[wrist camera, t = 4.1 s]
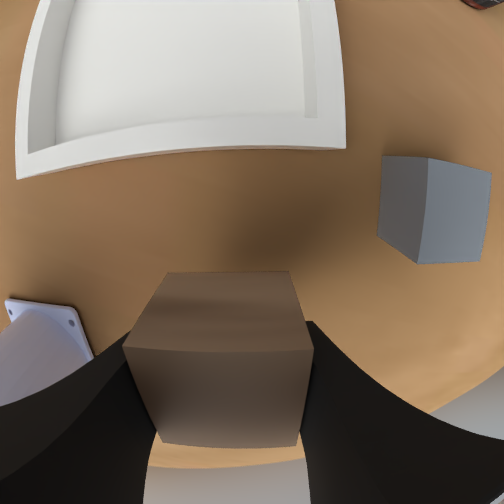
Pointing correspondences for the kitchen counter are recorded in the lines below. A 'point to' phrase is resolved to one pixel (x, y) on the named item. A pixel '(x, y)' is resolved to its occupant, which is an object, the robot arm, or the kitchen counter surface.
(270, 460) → the kitchen counter surface
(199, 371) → the walnut block
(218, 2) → the tray
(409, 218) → the slate block
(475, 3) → the supplement bottle
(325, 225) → the kitchen counter surface
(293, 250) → the kitchen counter surface
